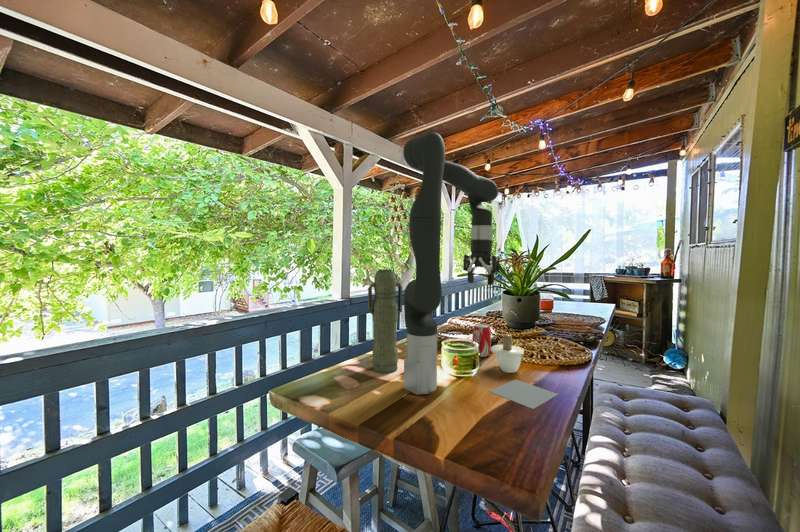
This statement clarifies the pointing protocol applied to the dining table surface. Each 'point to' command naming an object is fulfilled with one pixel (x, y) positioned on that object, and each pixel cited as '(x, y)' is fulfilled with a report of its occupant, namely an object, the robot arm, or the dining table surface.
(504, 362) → the cup
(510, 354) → the lid
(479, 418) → the dining table surface
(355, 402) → the dining table surface
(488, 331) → the soda can
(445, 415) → the dining table surface
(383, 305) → the thermos
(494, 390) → the mat
